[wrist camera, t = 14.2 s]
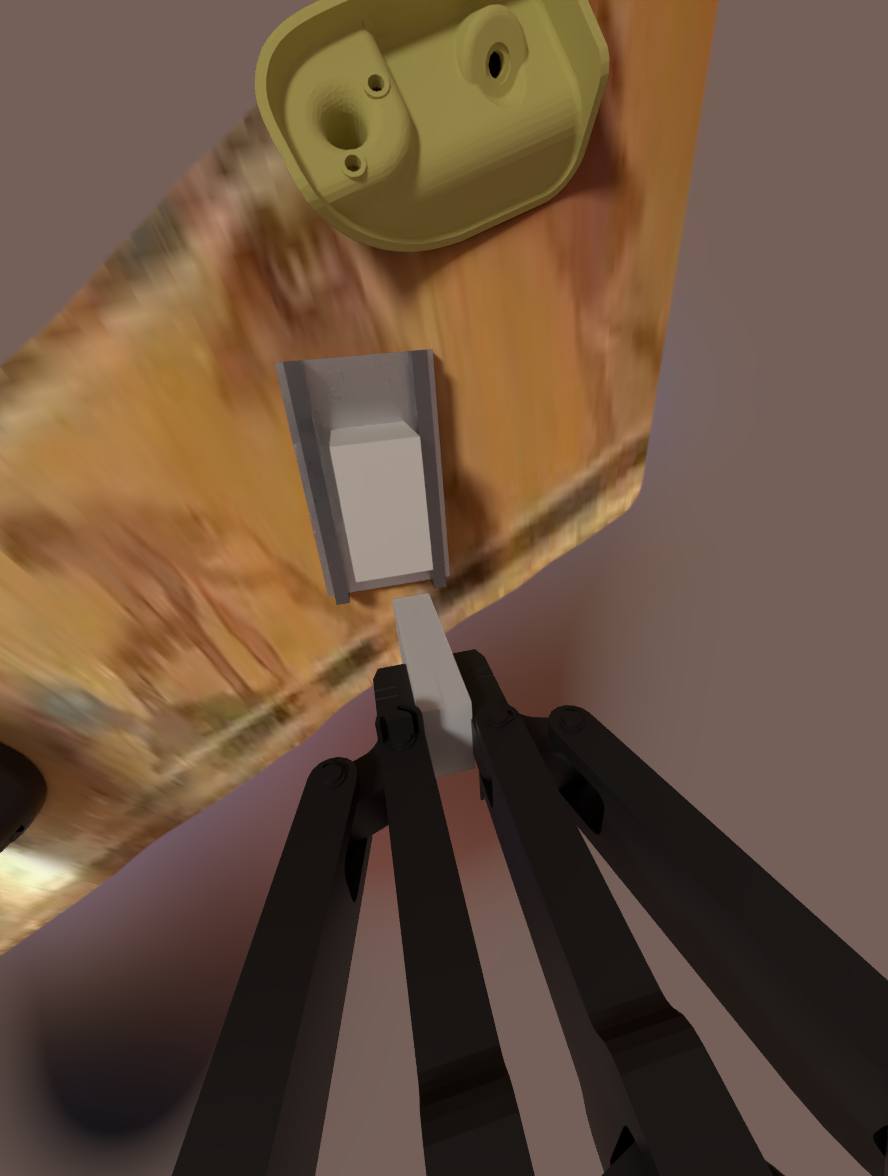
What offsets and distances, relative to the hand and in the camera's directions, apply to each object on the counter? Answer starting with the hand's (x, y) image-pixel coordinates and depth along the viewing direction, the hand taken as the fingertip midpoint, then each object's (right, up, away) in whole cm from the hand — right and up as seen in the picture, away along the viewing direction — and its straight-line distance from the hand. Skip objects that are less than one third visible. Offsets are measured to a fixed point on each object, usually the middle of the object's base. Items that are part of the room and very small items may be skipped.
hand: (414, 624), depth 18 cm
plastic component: (0, +33, +11) cm, 35 cm away
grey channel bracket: (-5, +11, +21) cm, 24 cm away
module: (-5, +10, +20) cm, 23 cm away
